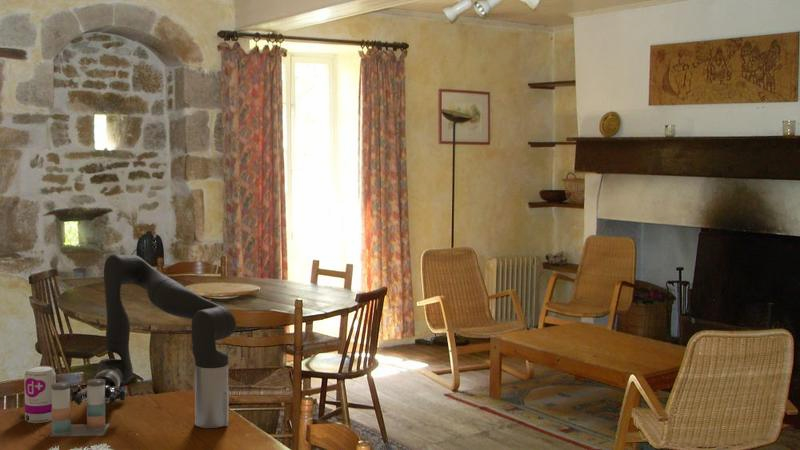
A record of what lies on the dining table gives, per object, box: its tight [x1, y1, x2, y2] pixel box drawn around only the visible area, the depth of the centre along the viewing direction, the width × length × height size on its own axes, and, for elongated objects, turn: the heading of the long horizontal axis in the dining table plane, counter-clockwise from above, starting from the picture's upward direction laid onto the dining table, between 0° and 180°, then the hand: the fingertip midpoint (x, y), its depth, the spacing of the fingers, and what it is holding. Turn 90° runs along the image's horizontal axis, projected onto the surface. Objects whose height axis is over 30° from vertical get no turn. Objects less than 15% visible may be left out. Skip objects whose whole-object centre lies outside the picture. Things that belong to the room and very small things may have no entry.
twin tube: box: [51, 381, 72, 435], centre depth 247 cm, size 5×5×13 cm
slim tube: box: [86, 378, 106, 431], centre depth 252 cm, size 5×5×13 cm
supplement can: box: [23, 365, 56, 424], centre depth 259 cm, size 8×8×15 cm
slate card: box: [48, 423, 110, 438], centre depth 251 cm, size 14×10×1 cm
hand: (94, 400), depth 250 cm, fingers open, 8 cm apart
